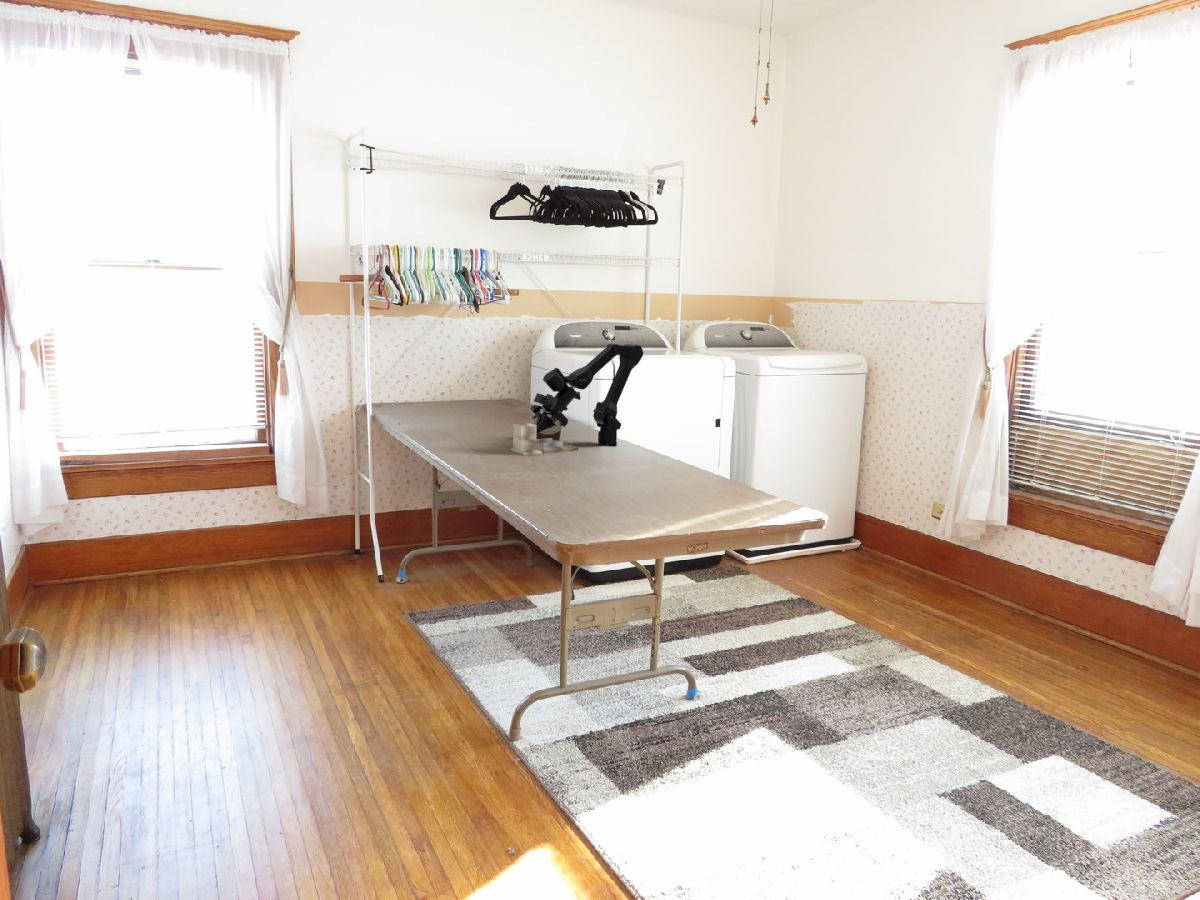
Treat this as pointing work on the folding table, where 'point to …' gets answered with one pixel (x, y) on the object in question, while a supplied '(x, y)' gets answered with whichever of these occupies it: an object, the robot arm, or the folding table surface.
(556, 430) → the food container
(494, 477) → the folding table surface
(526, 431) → the block
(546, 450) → the chute
